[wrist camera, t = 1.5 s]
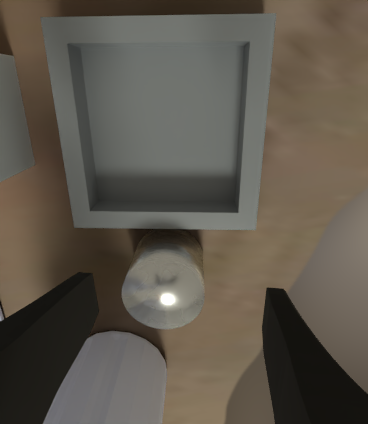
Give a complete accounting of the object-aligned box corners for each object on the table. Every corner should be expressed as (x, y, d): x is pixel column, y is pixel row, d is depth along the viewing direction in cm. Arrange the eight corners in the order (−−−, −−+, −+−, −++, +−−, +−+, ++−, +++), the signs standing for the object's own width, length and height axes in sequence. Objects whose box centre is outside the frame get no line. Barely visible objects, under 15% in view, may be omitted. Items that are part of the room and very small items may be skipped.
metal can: (202, 285, 25) (203, 330, 21) (138, 284, 25) (125, 328, 21) (203, 227, 23) (205, 262, 19) (133, 226, 23) (118, 260, 19)
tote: (248, 212, 22) (255, 229, 20) (89, 210, 23) (74, 227, 20) (264, 24, 18) (276, 13, 15) (64, 27, 18) (40, 17, 16)
